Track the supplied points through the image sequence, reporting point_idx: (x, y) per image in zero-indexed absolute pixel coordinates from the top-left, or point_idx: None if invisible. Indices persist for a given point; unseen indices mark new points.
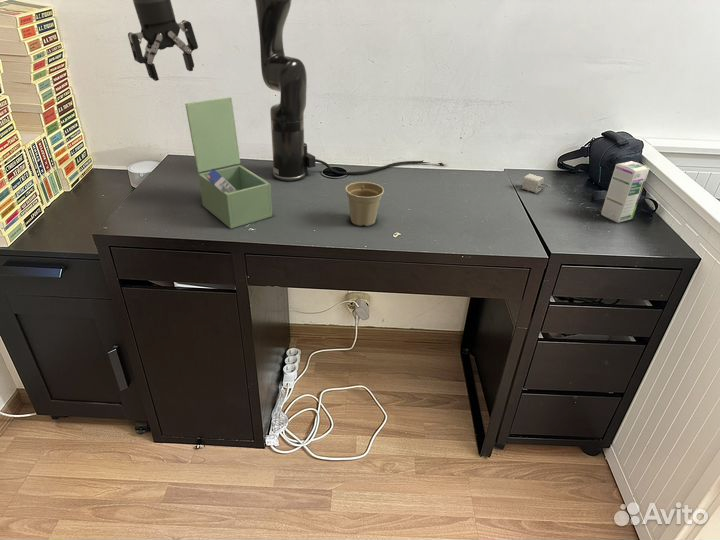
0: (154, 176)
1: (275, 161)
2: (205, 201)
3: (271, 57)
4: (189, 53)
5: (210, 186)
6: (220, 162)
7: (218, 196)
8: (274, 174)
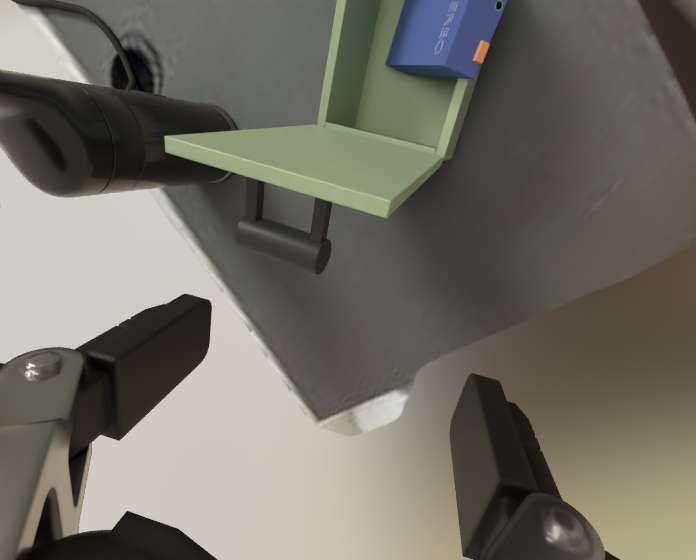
0: (407, 370)
1: None
2: (457, 135)
3: None
4: (69, 351)
5: None
6: (367, 139)
7: None
8: None
